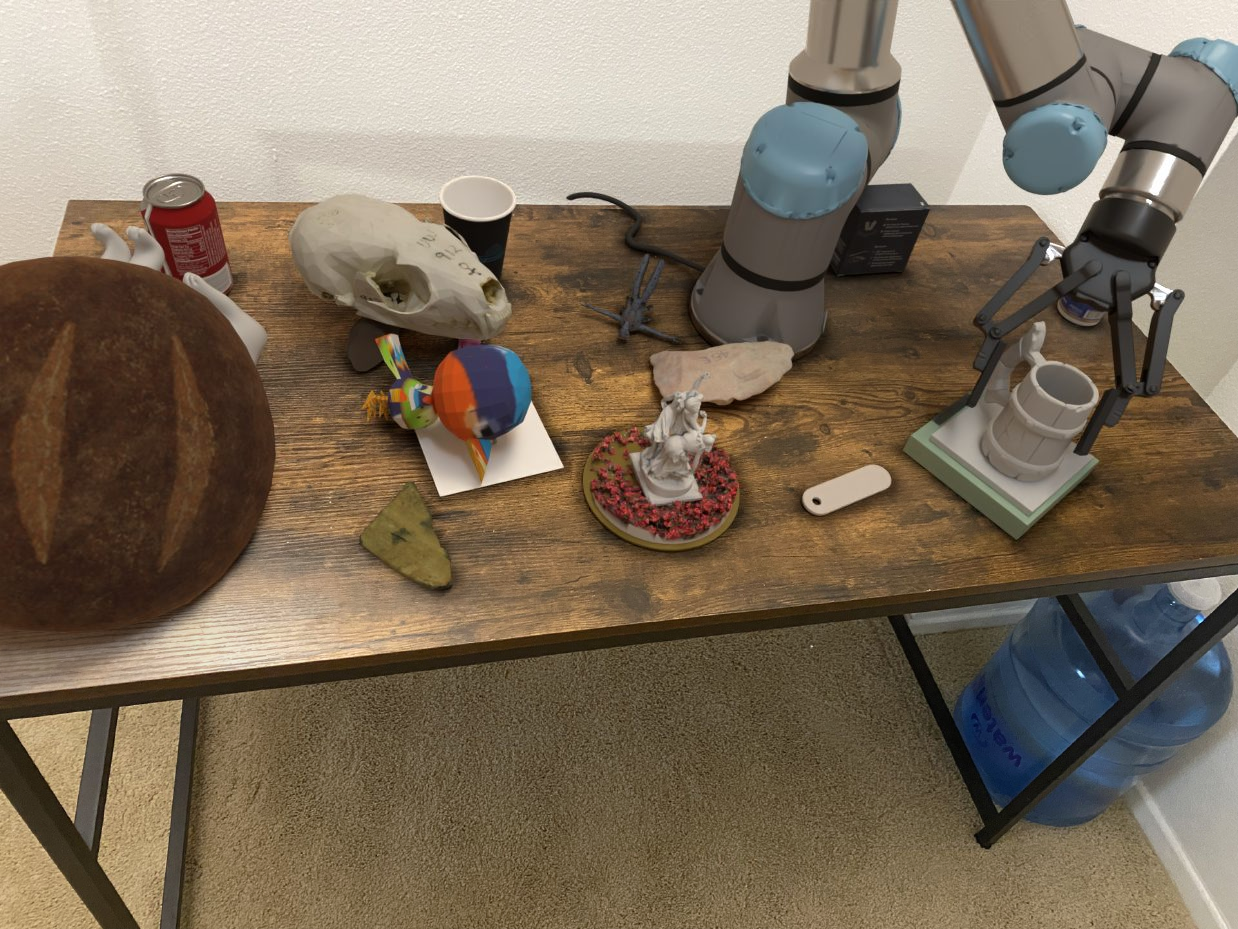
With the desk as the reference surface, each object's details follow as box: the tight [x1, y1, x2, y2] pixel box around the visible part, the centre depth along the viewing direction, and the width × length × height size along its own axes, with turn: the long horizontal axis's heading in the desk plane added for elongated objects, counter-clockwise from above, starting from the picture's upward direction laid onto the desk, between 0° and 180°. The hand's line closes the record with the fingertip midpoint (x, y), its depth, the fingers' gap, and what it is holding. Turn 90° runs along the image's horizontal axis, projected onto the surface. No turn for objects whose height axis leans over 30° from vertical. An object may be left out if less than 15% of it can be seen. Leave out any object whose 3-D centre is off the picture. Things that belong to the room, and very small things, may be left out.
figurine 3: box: [582, 372, 741, 552], centre depth 82 cm, size 15×15×14 cm
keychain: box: [801, 464, 892, 517], centre depth 90 cm, size 10×1×3 cm
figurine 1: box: [345, 292, 404, 372], centre depth 95 cm, size 6×4×12 cm
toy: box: [361, 334, 533, 484], centre depth 84 cm, size 10×14×15 cm
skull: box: [288, 193, 513, 342], centre depth 89 cm, size 14×24×10 cm, turn 58°
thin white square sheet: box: [414, 400, 565, 498], centre depth 88 cm, size 12×12×2 cm
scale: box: [902, 388, 1100, 540], centre depth 94 cm, size 14×14×3 cm
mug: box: [982, 321, 1100, 481], centre depth 89 cm, size 8×12×12 cm, turn 16°
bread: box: [0, 255, 277, 634], centre depth 67 cm, size 28×27×9 cm
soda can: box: [139, 172, 234, 296], centre depth 93 cm, size 7×7×12 cm
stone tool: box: [649, 341, 794, 406], centre depth 96 cm, size 9×5×15 cm
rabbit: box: [90, 222, 268, 367], centre depth 75 cm, size 12×21×25 cm
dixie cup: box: [438, 174, 517, 282], centre depth 99 cm, size 8×8×11 cm
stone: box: [359, 481, 454, 591], centre depth 79 cm, size 12×7×2 cm, turn 24°
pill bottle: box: [1057, 294, 1106, 327], centre depth 111 cm, size 5×5×10 cm
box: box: [829, 182, 932, 277], centre depth 112 cm, size 9×6×10 cm, turn 104°
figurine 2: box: [579, 253, 682, 344], centre depth 100 cm, size 12×10×5 cm
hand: (1024, 429), depth 88 cm, fingers open, 10 cm apart
